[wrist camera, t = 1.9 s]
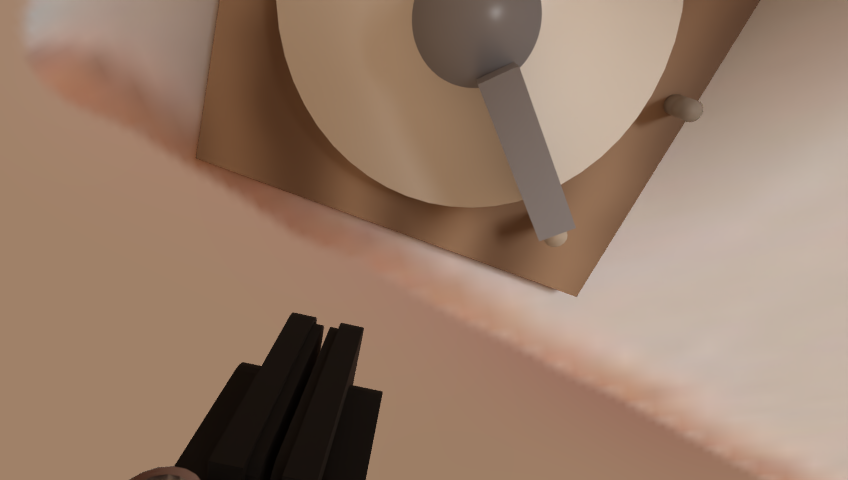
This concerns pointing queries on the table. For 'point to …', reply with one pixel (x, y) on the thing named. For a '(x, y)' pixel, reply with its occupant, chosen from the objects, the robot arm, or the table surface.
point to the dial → (477, 90)
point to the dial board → (437, 224)
